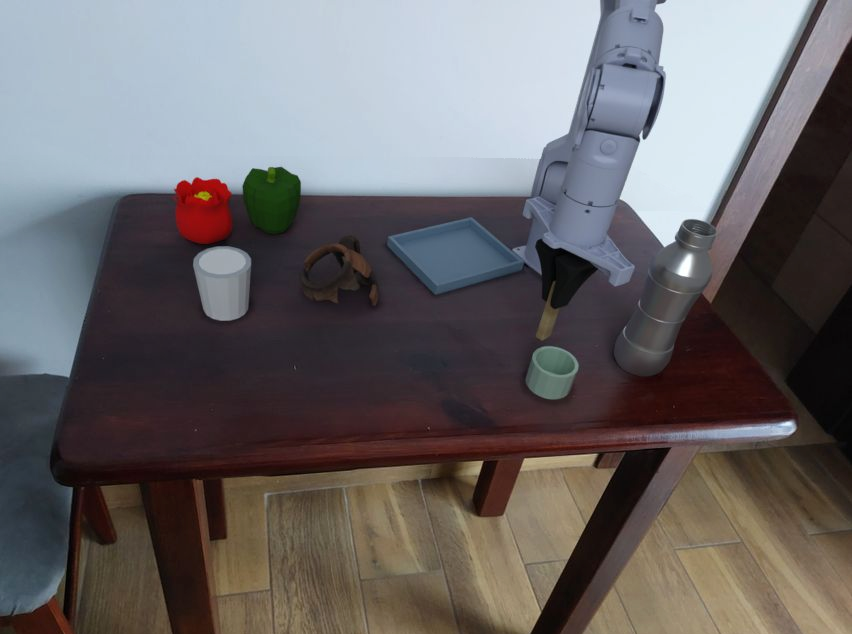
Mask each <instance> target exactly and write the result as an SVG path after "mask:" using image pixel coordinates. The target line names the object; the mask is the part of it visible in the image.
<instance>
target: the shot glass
mask: <svg viewBox="0 0 852 634" xmlns="http://www.w3.org/2000/svg"><path fill="white" fill-rule="evenodd" d="M192 266H193V267H192V268H193V270H194V276H195V280H196V284H197V288H198V292H199V297H200V301H201V302H200V303H201V306H202V310H203V312H204V313H205V315H206V316H207V317H209V318H210V319H213V320H215V321H221V322H223V321H224V322H225V321H228V322H229V321H234V320H237V319H239V318H241V317H243V316H244V315H246V313H247V312H248V311H249V303H250V286H251V271H252V258H251V257H250V255H249V254H248V252H246V251H244V250H243V249H241V248H238V247H233V246H229V245H228V246H227V245H225V246H223V245H222V246H221V245H220V246H213V247H209V248H208V247H207V248H206V249H203V250H202V251H200V252H198V253H197V254H196V256H194V258H193V263H192Z"/></svg>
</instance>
